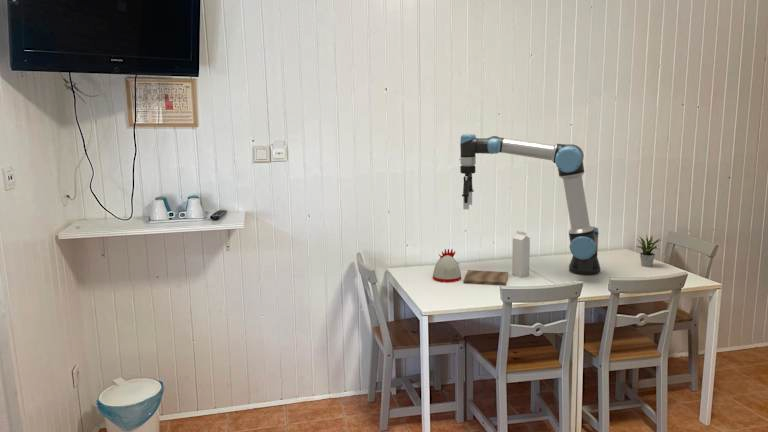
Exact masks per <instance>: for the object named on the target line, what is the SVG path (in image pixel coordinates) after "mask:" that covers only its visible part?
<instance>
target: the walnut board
mask: <svg viewBox="0 0 768 432" xmlns="http://www.w3.org/2000/svg"><path fill="white" fill-rule="evenodd" d="M508 278H509V271H492V270H475V269H474V270H471V269H469V270H467V272H466V274H465V276H464V279H463V282H462V283H463V284H468V285H469V284H470V285H471V284H472V285H488V286H489V285H491V286H507V283H506V282H508Z"/></svg>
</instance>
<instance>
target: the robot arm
mask: <svg viewBox="0 0 768 432" xmlns="http://www.w3.org/2000/svg"><path fill="white" fill-rule="evenodd" d="M459 146H460V147H459V148H460V158H459V161H460V166H459V167H460V170H459V171H460V173H461V174H464V176H463V188H462V189H463V190H462V194H461V196H462V197H463V198H462V199H463V202H462V203H463V206H462V207H463V210H470V206H473V192H475V191H474V189H473V174H475V173H476V163H477V162H476V161H477V160H476V158H477V157H476V154H482V155H483V154H490V155H493V154H500V153H502V154H509V155H515V156H520V157H521V156H522V157H527V158H528V157H529V158H534V159H540V160H548V161H551V162H552V163H553V164H555V166H556V167H557V170H558V176H559V178H561V179H562V180H563V181H562V182H563V187H564V192H565V199H566V204H567V205H566V206H567V211H568V217H569V223H570V229H569V230H568V237H569V242H570V243H569V250H570V253H571V255H572V258H571V259H570V262H569V265H568V271H569V272H570V273H571V274H575V275H581V276H593V275H595V276H596V275H599V274H600V273H601V264H600V262H599V258H598V251H599V250H598V249H599V248H598V246H599V234H600V233H599V228H598V227H597V226H591V224H590V219H589V213H588V207H587V201H586V200H587V199H586V195H585V188H584V187H585V186H584V181H583V176H584V174H585V166H584V156H585V155H584V152H583V149H582V148H581V147H580V146H578V145H576V144H573V143H570V144H567V143H566V144H562V143H555V144H547V143H542V142H541V143H539V142H535V141H534V142H533V141H527V140H519V139H514V138H513V139H512V138H506V137H499V136H496V135H493V136H492V135H491V136H490V137H486V138H485V137H484V138H482V137H480V138H479V137H477V135H476V134H475V133H474V134H472V133H465V134H461V135H460V144H459Z"/></svg>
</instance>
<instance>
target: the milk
mask: <svg viewBox="0 0 768 432" xmlns="http://www.w3.org/2000/svg"><path fill="white" fill-rule="evenodd" d="M530 244H531V238H530V237H529V236H527V233H526V232H524V231H520V230H517V231H516V234H515V235H514V236H513V237H512V250H511V251H512V254H511V255H512V257H511V258H512V259H511V260H512V262H511V263H512V264H511V266H512V267H511V268H512V269H511V275H512V276H515V277H518V276H519V278H523V277H528V276H529V275H530V253H531V252H530V250H531V245H530Z"/></svg>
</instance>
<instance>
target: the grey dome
mask: <svg viewBox="0 0 768 432" xmlns="http://www.w3.org/2000/svg"><path fill="white" fill-rule="evenodd" d="M438 255H439V257H440V258H439V259H438V260H437V261H436V263H435V265H434V268H433V269H434V270H433V271H432V272H433V273H432V279H433V281H436V282H438V283H457V282H459V281H461V280H462V272H461V269H460V263H458V261H457V260H456V259H455V258H454V256H455V255H456V250H455V251H453V248H451V249H449V248H447V249H446V248H444V251H441V254H440V253H438Z"/></svg>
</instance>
